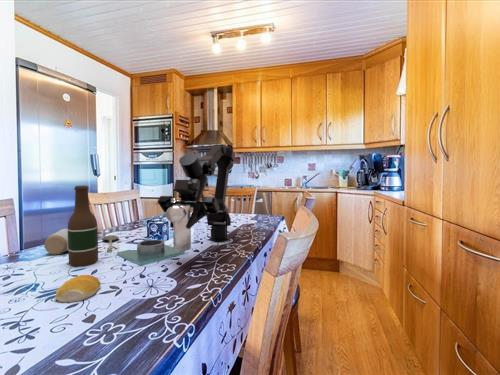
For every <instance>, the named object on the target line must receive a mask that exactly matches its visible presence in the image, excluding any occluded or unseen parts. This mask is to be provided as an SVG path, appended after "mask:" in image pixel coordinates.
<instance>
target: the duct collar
mask: <svg viewBox="0 0 500 375" xmlns="http://www.w3.org/2000/svg"><path fill="white" fill-rule="evenodd" d="M136 246H137V247H136V248H137V250H130V249H126V250H121V251H117V252H116V255H117V256H118V257H120V258H123V259H124V260H127V261H129V262H131V263H133V264H136V265H138V266H145V265H149V264H151V263H155V262H159V261H163V260H167V259H169V258H171V259H172V258H174V257H178V256H181V255H185V253H186V251H175V250H174V246H171V245H167V244H165V240H163V239H148V240H141V241H140V242H137V245H136Z"/></svg>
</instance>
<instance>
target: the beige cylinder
mask: <svg viewBox="0 0 500 375" xmlns="http://www.w3.org/2000/svg"><path fill="white" fill-rule="evenodd" d="M44 249H45V251H46V252H47V253H48V254H51V255H56V256H57V255H61V254H64V253H65V252H68V228H62V229H59V230H58V231H56V232H55V233H53V234H51V235H49V236H48V237H47V238H46V239H45V241H44Z"/></svg>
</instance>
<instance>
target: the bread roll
mask: <svg viewBox="0 0 500 375" xmlns="http://www.w3.org/2000/svg"><path fill="white" fill-rule="evenodd" d="M101 284H102V283H101V281H100V280H99V279H98V277H97V276H94V275H90V274H82V275H78V276H75V277H73V278H70V279H68V280H67V281H64V283H63V284H62V285H61V286H60V287H59V288H57V289H56V291H55V296H54V298H55V299H56V300H57V302H60V303H74V302H80V301H84V300H87V299H89V298H90V297H93V296H94V295H95V294H96V293H97V291H98V290H99V289H100V288H101Z"/></svg>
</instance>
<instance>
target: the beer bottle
mask: <svg viewBox="0 0 500 375" xmlns="http://www.w3.org/2000/svg"><path fill="white" fill-rule="evenodd" d="M73 190H74V191H75V194H74V196H75V197H74V209H73V213H72V215H70V217H69V220H68V221H67V222H68V223H67V229H68V251H67V253H68V264H69V265H70V266H72V267H74V268H75V267H76V268H77V267H87V266H91V265H93V264H95V263H96V262H98V260H99V241H98V240H99V239H98V238H99V235H98V220H97V219H96V216H95V214H93V212H92V210H91V207H90V201H89V200H90V199H89V191H88V190H90V189H89V186H88V185H76V186H74V189H73Z"/></svg>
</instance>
